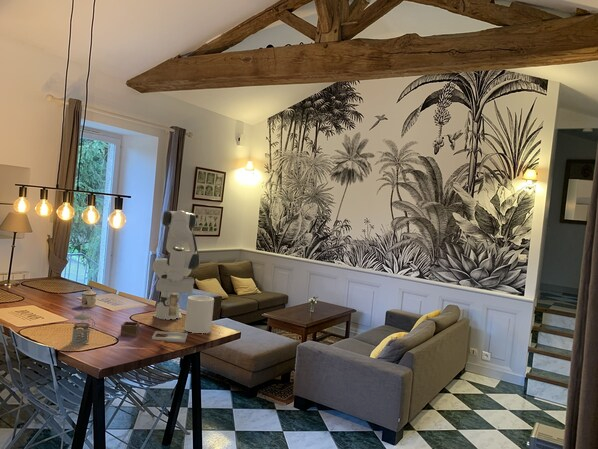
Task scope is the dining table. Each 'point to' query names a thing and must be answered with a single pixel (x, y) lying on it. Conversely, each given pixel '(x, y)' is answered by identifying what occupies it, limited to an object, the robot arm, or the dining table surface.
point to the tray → (171, 336)
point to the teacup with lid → (88, 299)
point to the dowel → (173, 304)
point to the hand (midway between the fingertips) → (173, 300)
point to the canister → (199, 314)
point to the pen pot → (129, 329)
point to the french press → (81, 330)
